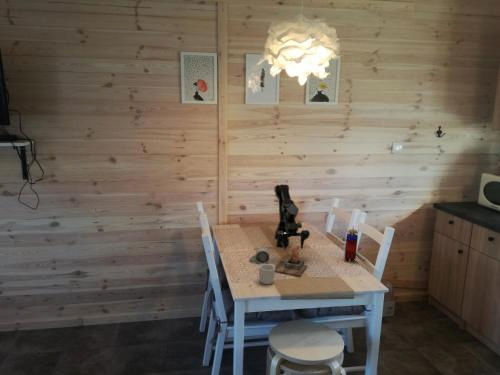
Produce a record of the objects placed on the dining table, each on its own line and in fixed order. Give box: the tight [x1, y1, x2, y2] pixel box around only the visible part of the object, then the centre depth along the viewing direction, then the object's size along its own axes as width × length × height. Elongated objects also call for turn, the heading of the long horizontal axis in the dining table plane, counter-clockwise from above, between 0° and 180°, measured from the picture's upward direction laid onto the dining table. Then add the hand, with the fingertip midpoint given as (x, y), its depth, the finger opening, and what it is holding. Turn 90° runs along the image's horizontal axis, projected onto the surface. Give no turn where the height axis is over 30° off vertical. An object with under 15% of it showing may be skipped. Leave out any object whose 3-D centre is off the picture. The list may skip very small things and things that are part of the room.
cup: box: [258, 263, 276, 285], centre depth 195 cm, size 11×8×8 cm
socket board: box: [274, 257, 308, 278], centre depth 209 cm, size 15×14×4 cm
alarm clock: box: [341, 225, 359, 263], centre depth 225 cm, size 15×9×20 cm, turn 163°
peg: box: [290, 244, 300, 265], centre depth 210 cm, size 4×4×11 cm
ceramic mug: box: [249, 246, 270, 265], centre depth 218 cm, size 11×8×8 cm
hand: (293, 249), depth 213 cm, fingers open, 9 cm apart
